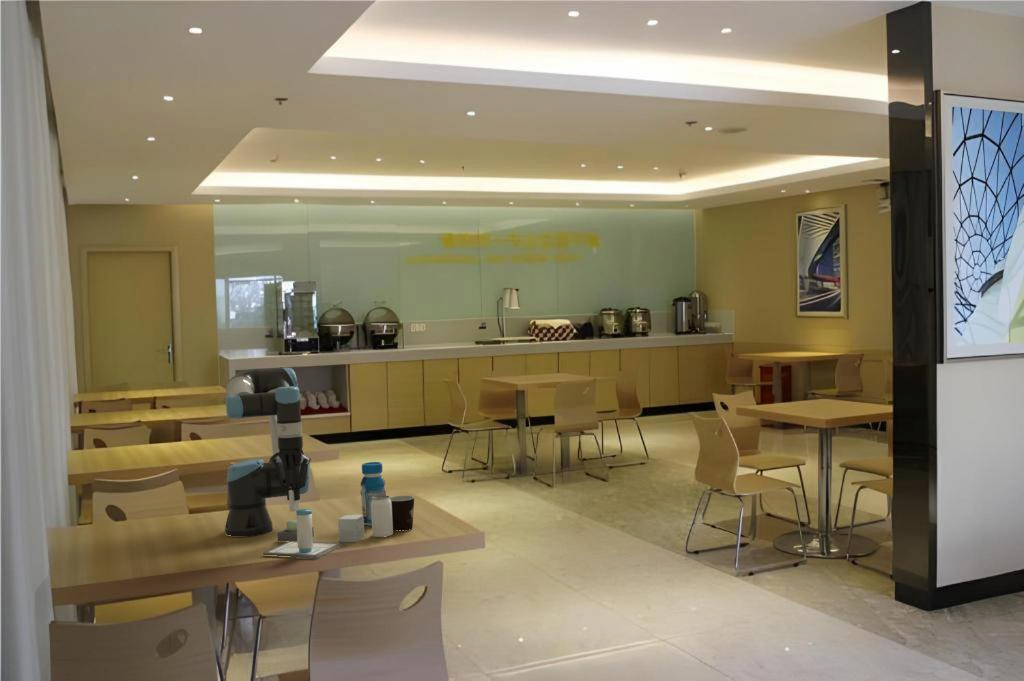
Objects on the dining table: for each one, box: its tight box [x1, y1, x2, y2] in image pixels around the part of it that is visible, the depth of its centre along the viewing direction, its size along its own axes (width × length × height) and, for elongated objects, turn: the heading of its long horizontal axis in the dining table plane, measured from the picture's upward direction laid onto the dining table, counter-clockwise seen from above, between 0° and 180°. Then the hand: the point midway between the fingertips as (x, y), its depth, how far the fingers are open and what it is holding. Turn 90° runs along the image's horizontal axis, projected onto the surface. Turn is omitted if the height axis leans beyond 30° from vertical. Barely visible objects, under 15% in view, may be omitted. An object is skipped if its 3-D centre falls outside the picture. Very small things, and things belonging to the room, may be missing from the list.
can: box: [371, 495, 394, 538], centre depth 289 cm, size 6×6×12 cm
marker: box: [295, 508, 314, 553], centre depth 270 cm, size 4×4×12 cm
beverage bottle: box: [360, 461, 387, 526], centre depth 307 cm, size 8×8×20 cm
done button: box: [286, 519, 297, 532], centre depth 290 cm, size 5×5×3 cm
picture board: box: [262, 541, 342, 560], centre depth 274 cm, size 18×14×1 cm
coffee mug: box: [389, 495, 415, 532], centre depth 298 cm, size 12×9×10 cm
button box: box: [276, 526, 315, 542], centre depth 290 cm, size 8×8×3 cm
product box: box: [337, 514, 365, 543], centre depth 285 cm, size 6×6×7 cm
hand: (294, 510), depth 290 cm, fingers closed
